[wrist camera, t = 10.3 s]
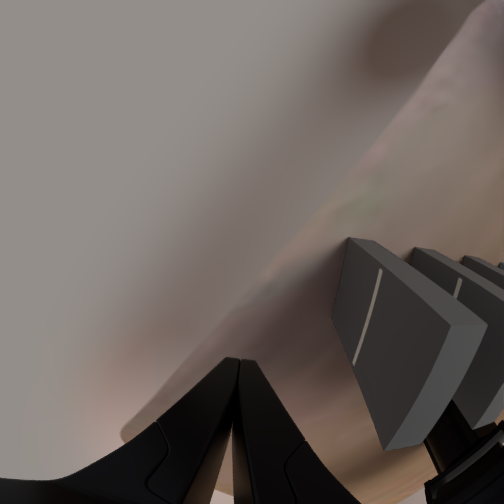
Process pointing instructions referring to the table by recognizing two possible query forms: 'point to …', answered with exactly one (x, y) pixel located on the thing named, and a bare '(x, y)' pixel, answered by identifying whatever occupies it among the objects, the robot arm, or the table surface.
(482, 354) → the domino
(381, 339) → the domino
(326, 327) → the table surface
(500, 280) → the domino
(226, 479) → the table surface
